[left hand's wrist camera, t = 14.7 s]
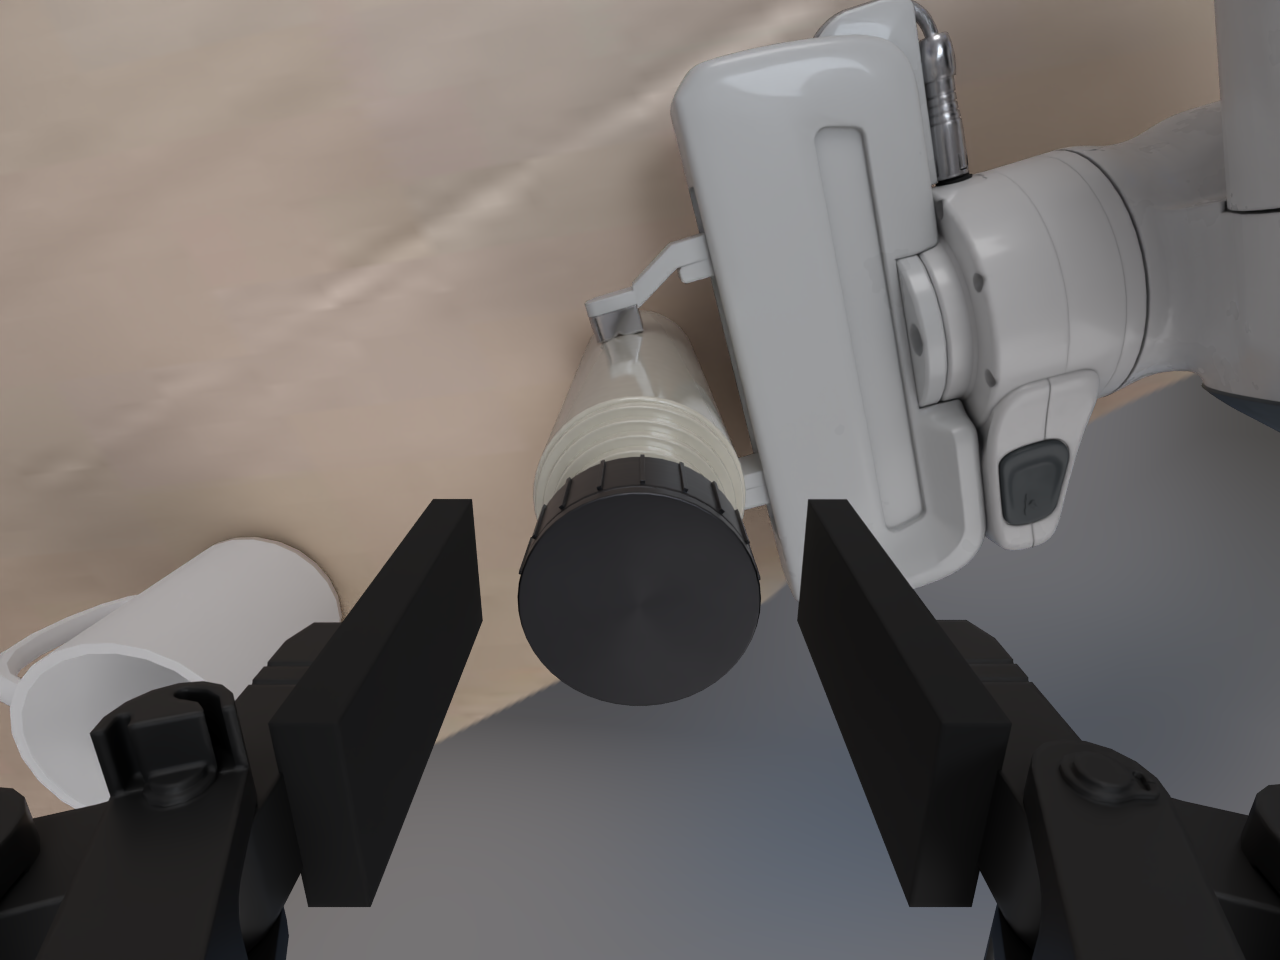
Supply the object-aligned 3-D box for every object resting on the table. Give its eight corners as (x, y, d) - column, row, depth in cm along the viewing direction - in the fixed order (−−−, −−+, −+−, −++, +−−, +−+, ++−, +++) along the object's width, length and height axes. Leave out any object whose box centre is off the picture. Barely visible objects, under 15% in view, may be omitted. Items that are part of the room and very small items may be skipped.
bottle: (565, 334, 32) (449, 518, 12) (673, 292, 32) (728, 415, 12) (608, 437, 34) (564, 741, 14) (711, 398, 33) (815, 661, 14)
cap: (575, 671, 15) (566, 734, 14) (497, 491, 14) (476, 533, 12) (771, 616, 15) (790, 673, 13) (711, 423, 13) (723, 456, 12)
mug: (370, 560, 36) (270, 686, 26) (331, 697, 39) (229, 857, 29) (148, 487, 35) (-43, 592, 25) (125, 635, 37) (-54, 781, 28)
